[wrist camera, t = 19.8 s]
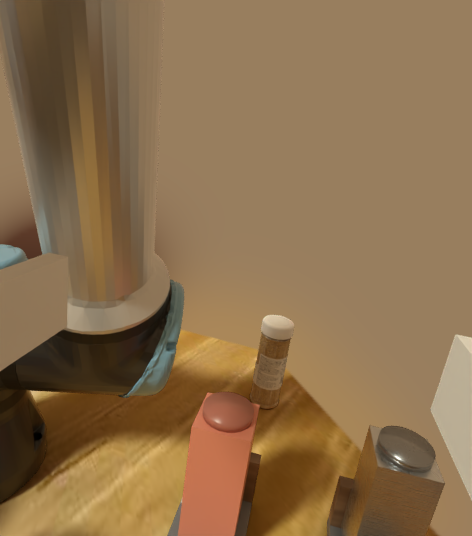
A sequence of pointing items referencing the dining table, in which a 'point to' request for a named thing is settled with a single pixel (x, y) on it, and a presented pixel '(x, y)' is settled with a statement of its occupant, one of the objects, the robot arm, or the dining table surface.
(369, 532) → the grey metal prism
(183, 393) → the dining table surface
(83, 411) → the dining table surface
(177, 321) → the robot arm
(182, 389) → the dining table surface
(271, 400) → the sprinkles bottle
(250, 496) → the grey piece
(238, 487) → the orange tall prism
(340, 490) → the steel rail
